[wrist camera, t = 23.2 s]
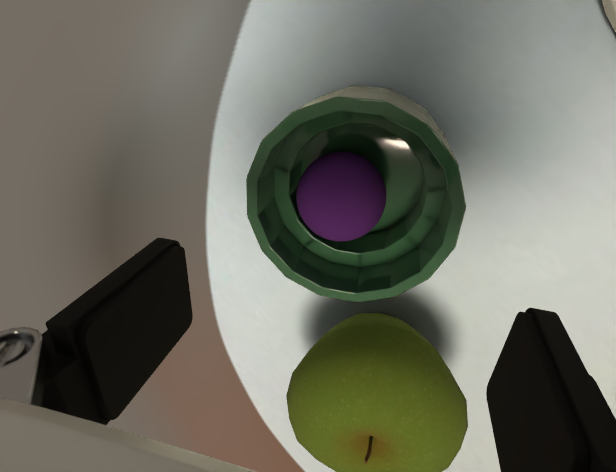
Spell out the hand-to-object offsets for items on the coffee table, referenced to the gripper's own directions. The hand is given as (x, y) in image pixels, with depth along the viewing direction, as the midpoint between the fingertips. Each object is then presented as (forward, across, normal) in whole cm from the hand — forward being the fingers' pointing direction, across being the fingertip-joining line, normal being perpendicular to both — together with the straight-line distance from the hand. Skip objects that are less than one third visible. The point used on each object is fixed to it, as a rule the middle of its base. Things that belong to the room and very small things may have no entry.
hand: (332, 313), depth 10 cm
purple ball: (+11, +2, +1) cm, 11 cm away
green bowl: (+14, +1, +1) cm, 14 cm away
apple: (+14, -2, +13) cm, 19 cm away
